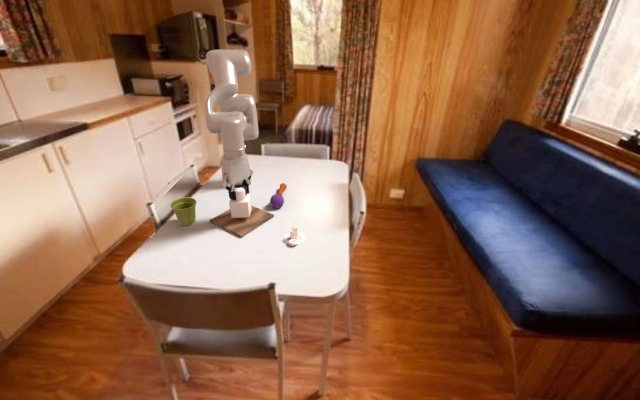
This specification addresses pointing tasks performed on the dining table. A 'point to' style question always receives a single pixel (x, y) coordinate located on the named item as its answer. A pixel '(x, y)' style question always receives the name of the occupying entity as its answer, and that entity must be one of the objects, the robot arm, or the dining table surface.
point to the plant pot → (185, 210)
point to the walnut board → (242, 221)
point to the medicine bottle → (240, 203)
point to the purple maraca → (278, 197)
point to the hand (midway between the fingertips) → (239, 195)
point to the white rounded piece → (294, 237)
